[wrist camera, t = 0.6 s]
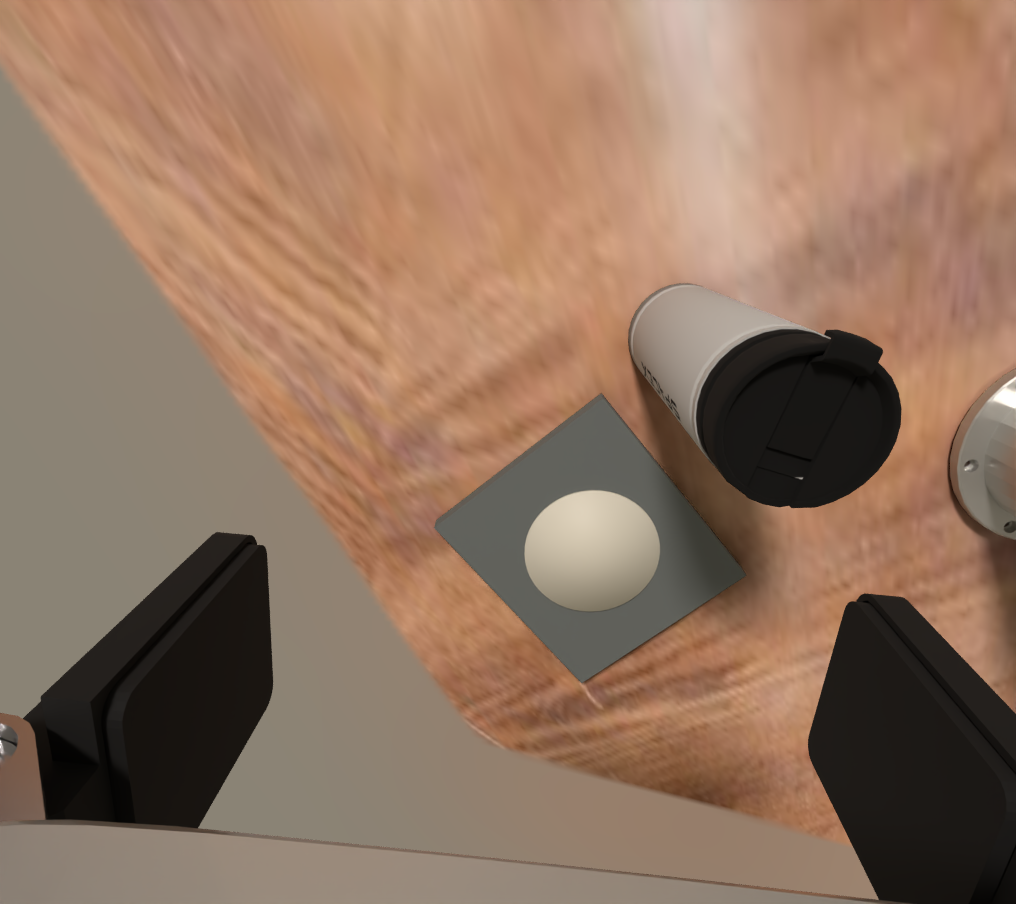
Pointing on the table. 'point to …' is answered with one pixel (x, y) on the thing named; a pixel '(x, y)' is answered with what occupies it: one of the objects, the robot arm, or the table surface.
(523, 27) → the table surface
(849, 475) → the travel mug
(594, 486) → the mat
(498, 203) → the table surface
